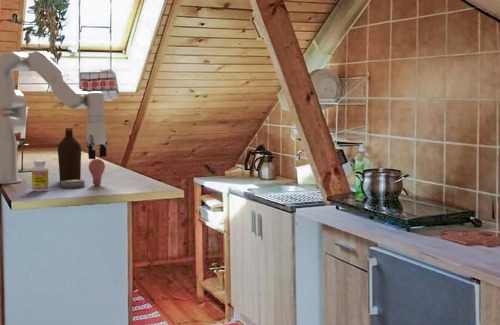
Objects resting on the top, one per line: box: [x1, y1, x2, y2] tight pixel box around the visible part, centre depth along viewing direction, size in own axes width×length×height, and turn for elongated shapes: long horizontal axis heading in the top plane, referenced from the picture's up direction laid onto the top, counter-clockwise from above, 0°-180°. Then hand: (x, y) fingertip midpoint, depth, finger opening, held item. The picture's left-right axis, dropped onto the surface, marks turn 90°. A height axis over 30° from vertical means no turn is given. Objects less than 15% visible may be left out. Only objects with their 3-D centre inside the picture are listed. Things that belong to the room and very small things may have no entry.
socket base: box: [60, 179, 86, 189], centre depth 285 cm, size 10×10×3 cm
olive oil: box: [57, 127, 82, 183], centre depth 301 cm, size 11×11×25 cm
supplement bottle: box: [31, 159, 49, 193], centre depth 273 cm, size 7×7×13 cm
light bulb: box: [88, 158, 106, 186], centre depth 289 cm, size 7×7×12 cm
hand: (97, 157), depth 289 cm, fingers open, 9 cm apart
